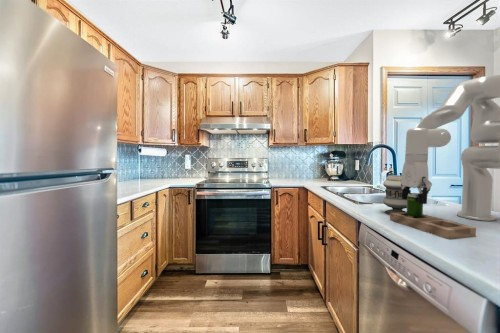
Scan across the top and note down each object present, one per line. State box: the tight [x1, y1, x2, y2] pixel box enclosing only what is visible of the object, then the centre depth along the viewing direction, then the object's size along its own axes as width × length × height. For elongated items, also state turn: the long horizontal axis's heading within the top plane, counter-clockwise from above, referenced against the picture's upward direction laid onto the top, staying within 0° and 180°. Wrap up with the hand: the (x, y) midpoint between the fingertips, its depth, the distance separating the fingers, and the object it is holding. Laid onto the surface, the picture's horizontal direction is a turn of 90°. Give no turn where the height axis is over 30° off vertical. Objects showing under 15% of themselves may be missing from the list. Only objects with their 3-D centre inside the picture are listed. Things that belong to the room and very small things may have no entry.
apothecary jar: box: [382, 174, 411, 215], centre depth 114 cm, size 12×12×18 cm
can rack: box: [389, 211, 477, 240], centre depth 93 cm, size 24×12×3 cm, turn 14°
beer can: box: [406, 192, 424, 218], centre depth 98 cm, size 5×5×12 cm
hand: (413, 201), depth 98 cm, fingers open, 9 cm apart
